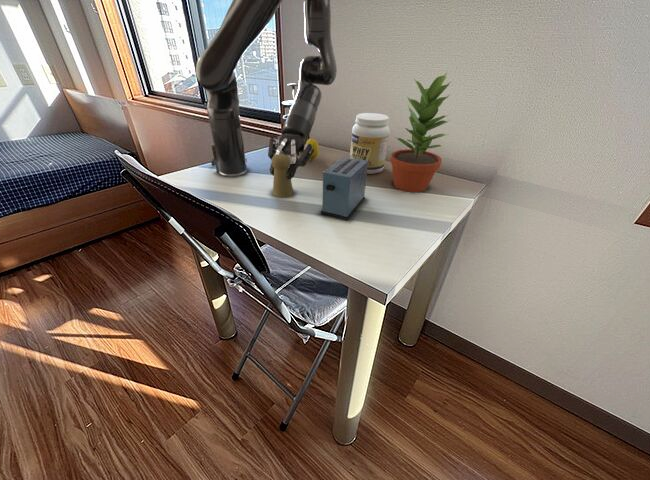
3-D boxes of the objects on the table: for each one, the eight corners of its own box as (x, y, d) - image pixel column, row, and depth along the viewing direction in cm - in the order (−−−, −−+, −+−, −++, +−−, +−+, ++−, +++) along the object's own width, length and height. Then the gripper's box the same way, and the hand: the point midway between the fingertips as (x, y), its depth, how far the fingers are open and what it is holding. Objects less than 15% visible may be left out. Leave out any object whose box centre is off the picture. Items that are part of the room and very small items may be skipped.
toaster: (317, 215, 77) (318, 172, 70) (339, 194, 87) (341, 155, 80) (346, 222, 74) (349, 179, 67) (365, 199, 84) (369, 160, 77)
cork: (285, 199, 84) (282, 160, 77) (268, 194, 87) (264, 156, 80) (297, 191, 88) (296, 154, 81) (281, 187, 91) (278, 150, 84)
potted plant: (376, 186, 92) (392, 72, 73) (401, 173, 101) (421, 68, 82) (420, 201, 84) (450, 77, 66) (443, 185, 93) (475, 72, 74)
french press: (289, 153, 116) (286, 86, 102) (278, 147, 122) (274, 83, 108) (314, 149, 121) (314, 84, 107) (302, 143, 127) (301, 81, 113)
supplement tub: (342, 169, 103) (345, 116, 93) (361, 160, 111) (366, 110, 100) (371, 178, 97) (379, 122, 87) (390, 168, 104) (398, 115, 94)
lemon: (321, 160, 111) (322, 137, 106) (313, 164, 107) (313, 141, 102) (309, 157, 113) (309, 135, 108) (301, 161, 109) (300, 138, 104)
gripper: (273, 110, 84) (253, 165, 82) (318, 115, 79) (297, 174, 78) (284, 126, 91) (265, 177, 89) (326, 132, 86) (307, 186, 85)
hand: (280, 175), depth 84 cm, fingers closed on cork, 5 cm apart
